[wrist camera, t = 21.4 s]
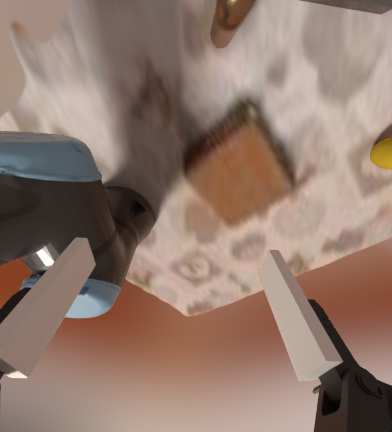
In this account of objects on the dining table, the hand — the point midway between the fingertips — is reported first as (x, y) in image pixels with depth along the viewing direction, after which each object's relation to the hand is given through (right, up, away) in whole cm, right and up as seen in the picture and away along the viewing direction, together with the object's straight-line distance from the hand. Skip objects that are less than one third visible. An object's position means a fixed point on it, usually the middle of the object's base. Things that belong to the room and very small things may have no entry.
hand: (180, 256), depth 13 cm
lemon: (+37, +17, +22) cm, 46 cm away
